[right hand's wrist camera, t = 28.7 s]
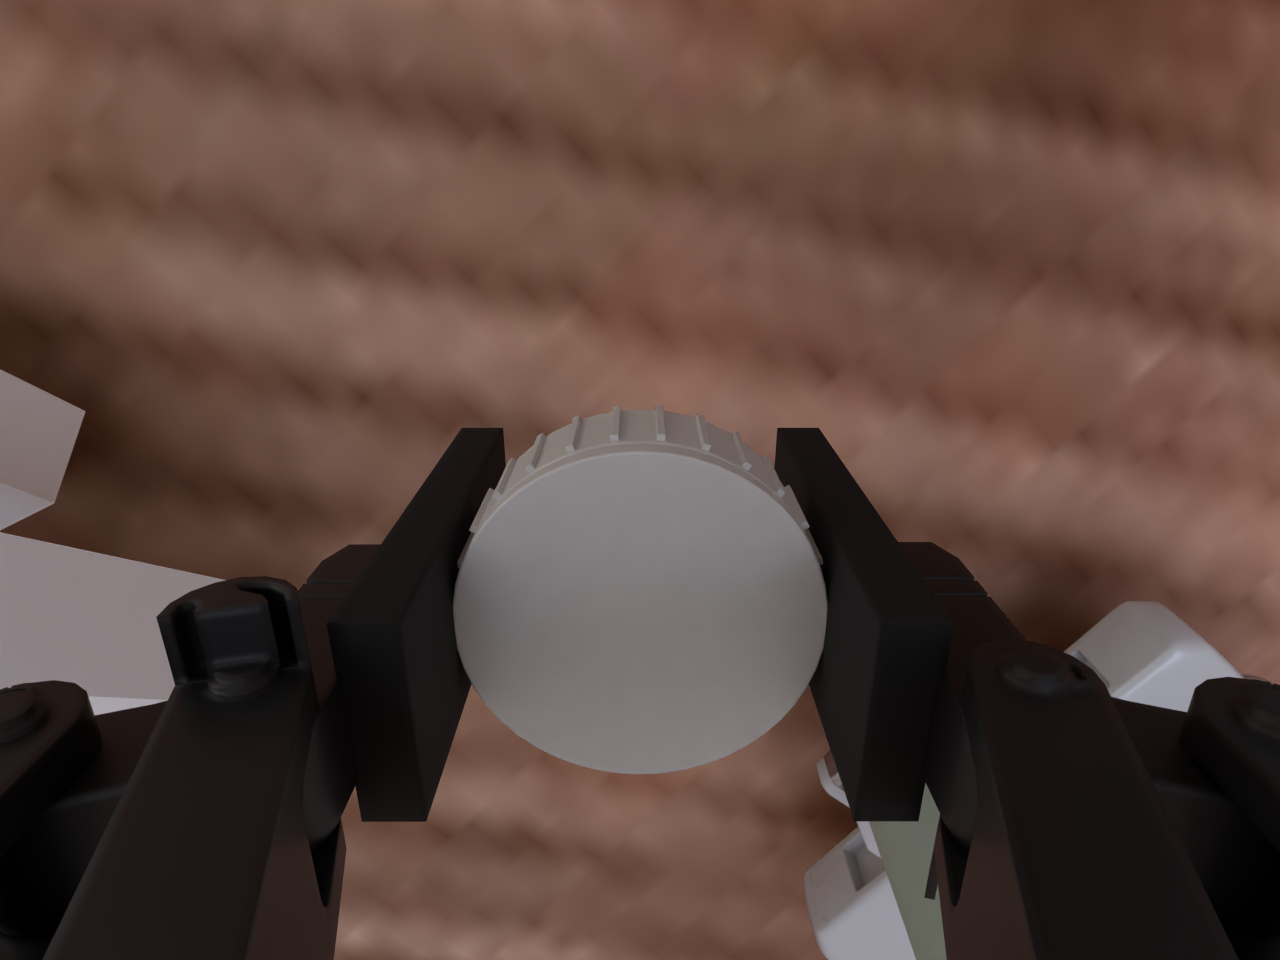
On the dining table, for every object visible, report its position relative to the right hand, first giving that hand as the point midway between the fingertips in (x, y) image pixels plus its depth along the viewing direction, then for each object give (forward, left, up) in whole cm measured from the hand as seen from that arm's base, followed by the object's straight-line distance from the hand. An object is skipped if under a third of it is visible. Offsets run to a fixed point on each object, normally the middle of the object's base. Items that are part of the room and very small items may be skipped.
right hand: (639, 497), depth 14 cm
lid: (0, 0, +4) cm, 4 cm away
